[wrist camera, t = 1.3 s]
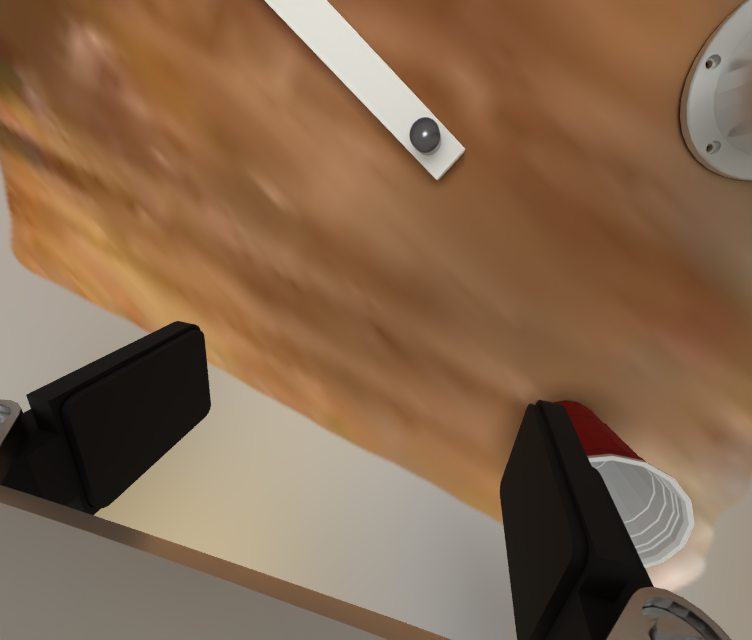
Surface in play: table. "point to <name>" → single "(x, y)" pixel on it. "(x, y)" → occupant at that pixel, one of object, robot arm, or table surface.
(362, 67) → the bar
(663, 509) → the plastic cup
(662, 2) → the table surface
